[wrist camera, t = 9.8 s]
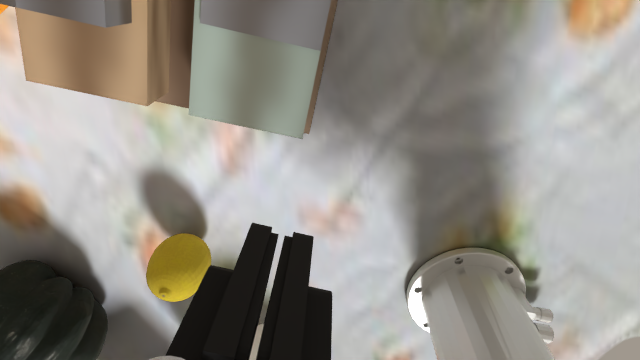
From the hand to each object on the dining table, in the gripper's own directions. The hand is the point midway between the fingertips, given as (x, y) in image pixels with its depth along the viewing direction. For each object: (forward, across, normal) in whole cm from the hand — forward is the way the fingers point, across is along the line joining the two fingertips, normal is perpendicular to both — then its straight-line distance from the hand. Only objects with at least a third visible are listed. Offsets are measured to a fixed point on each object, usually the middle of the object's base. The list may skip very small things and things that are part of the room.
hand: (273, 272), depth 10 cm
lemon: (+24, +9, +19) cm, 32 cm away
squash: (+24, +24, +31) cm, 46 cm away
